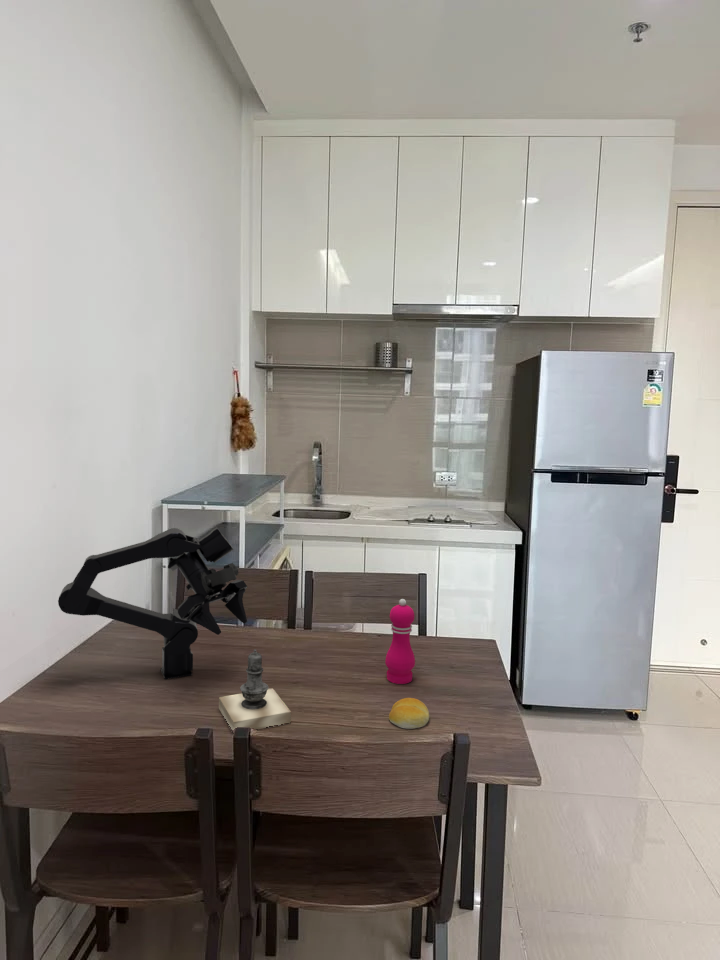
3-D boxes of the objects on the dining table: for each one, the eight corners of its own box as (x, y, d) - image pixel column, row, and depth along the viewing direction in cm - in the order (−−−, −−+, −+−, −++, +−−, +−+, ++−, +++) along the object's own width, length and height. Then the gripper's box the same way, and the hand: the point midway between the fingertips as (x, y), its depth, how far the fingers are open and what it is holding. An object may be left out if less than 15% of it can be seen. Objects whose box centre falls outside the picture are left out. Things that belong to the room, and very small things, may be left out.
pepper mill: (378, 678, 157) (381, 598, 154) (397, 670, 162) (400, 592, 160) (401, 687, 152) (404, 605, 150) (420, 679, 157) (423, 599, 155)
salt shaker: (262, 711, 132) (263, 655, 131) (235, 708, 133) (236, 652, 132) (272, 699, 138) (273, 645, 137) (246, 696, 139) (246, 642, 138)
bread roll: (385, 727, 133) (386, 709, 132) (394, 708, 142) (394, 691, 141) (425, 733, 131) (426, 714, 130) (431, 713, 140) (432, 696, 139)
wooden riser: (233, 734, 128) (233, 722, 127) (218, 708, 138) (218, 697, 138) (290, 723, 133) (290, 711, 133) (272, 699, 144) (272, 688, 143)
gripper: (187, 561, 142) (225, 619, 138) (241, 547, 158) (277, 598, 154) (161, 590, 146) (197, 647, 142) (216, 573, 163) (250, 624, 159)
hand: (233, 627), depth 149 cm, fingers open, 9 cm apart
